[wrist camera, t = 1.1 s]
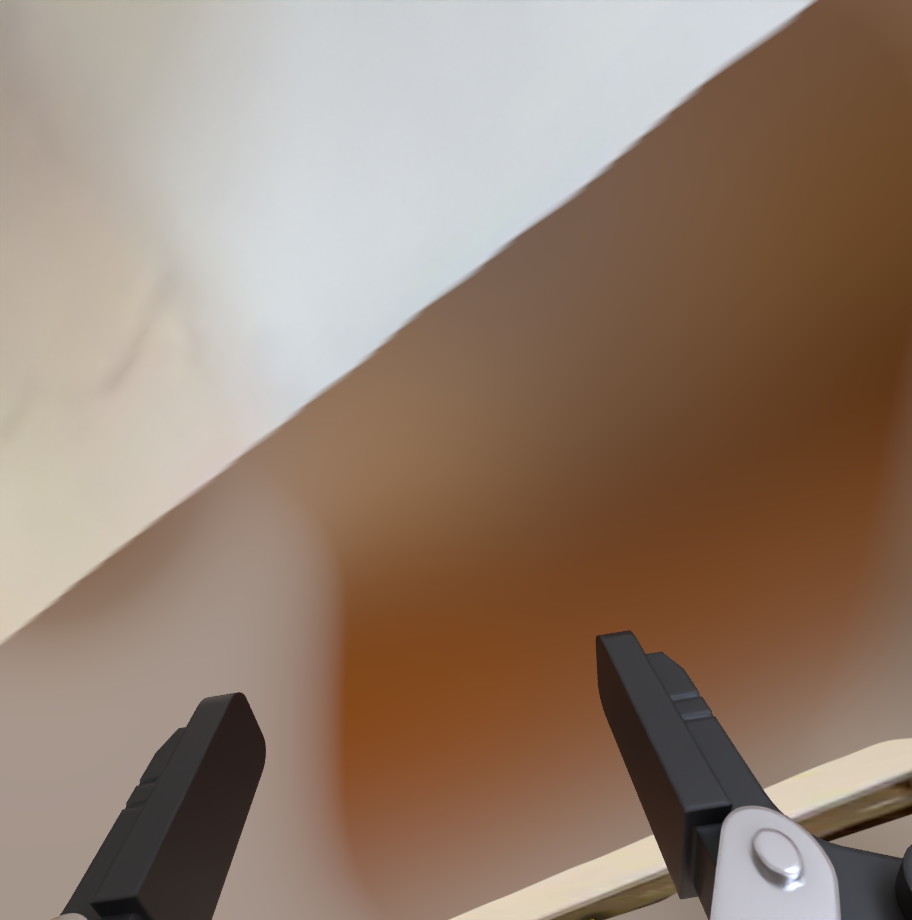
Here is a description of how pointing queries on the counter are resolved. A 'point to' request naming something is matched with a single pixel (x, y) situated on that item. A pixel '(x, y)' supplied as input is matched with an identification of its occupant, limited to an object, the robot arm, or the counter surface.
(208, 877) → the robot arm
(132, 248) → the counter surface
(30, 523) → the counter surface
